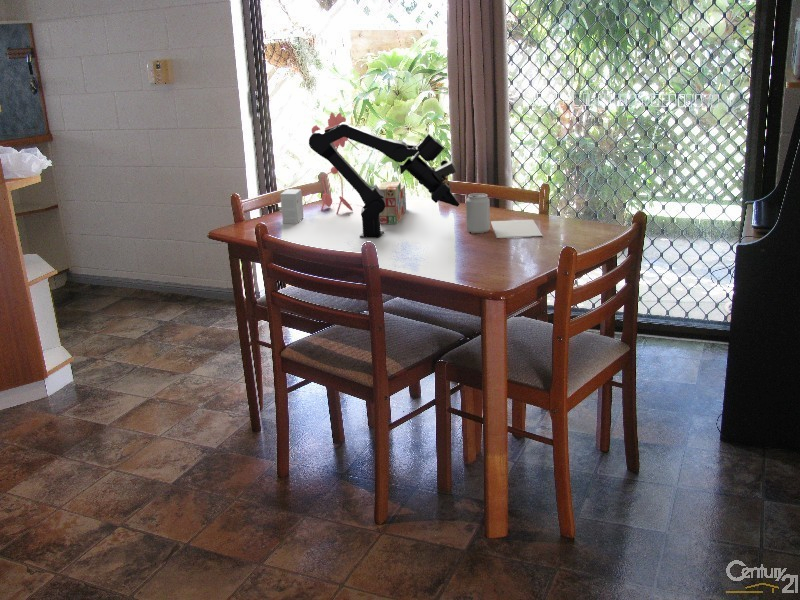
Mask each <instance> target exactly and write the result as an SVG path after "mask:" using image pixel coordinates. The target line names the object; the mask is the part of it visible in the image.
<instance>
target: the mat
mask: <svg viewBox="0 0 800 600" xmlns="http://www.w3.org/2000/svg"><path fill="white" fill-rule="evenodd" d="M490 226H491V227H492V229H493V232H494V234H495V237H496V239H497V238H507V239H515V238H514V237H530V236H542V237H543V233H541V230H540V229H539V226H538V225H537V224H536V222H535V221H534V219H518V220H517V219H516V220H515V219H514V220H512V219H511V220H490Z"/></svg>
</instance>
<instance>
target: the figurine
mask: <svg viewBox="0 0 800 600" xmlns="http://www.w3.org/2000/svg"><path fill="white" fill-rule="evenodd" d="M346 120H347V119H346V117H345V116H343V115H342V113H341V112H339V113H337V114H336V115H335V114H334V112H330V114H329V118H328V119H327V124H328V126H326V127H325V128H324V131H325V130H327V129H329V128H332V127H335V126H337V125H339V124H341V123H343V122H345V123H346ZM317 130H321V128H320V127H319V126H318V125H313V126H312V128H311V133H312V134H313V133H314V132H315V131H317ZM312 134H311V135H312ZM347 141H348V142H349V143H350V144H351V145H352V146H353V147H354V148H356V150H358V151H359V150H360V149H359V148H358V147H357V146H356V145H355V144H354V143H352V142H351V141H350V139H349V138H346V137H342V138H340V139H338V140H336V141H334V142H333V144H334V146H335V148H336V149H337V150H338V148H339V146H340V147H341V148H344V147H345V144H346V142H347ZM330 174H332V175H336V174H337V175H338V177H339V178H340V180H341V196H339V197H338V198H339V200H340V201H339V203H337V205H338V207H337V210H336V215H338V214H339V211H340V208H341V205H344V206H345V207H346V208H348V209H349V211H351V212H354V211H353V208H352V206H351V204H350V203H349V201H347V200H346V199H345V198H344V191H343V189H344V187H343V177H342V175H341V174H340V173H339V171H338V170H337V169H336V168H335V167H334V166H332V167H331V168H330V171H329V172H327V173H326V174H324V175H322V176H321V181H322V185H323V189H324V193H323V194H322V197H321V199H322V205H321V208H320V211H323V209H324V205H326V206H328V208H330V207H331V205H333V198H332V197H331V195H330V194H328V193H327V191H326V187H325V182H324V179H323V177H326V176H328V175H330ZM363 206H364V205H363ZM363 206H362V205H361V208H363ZM347 216H350V215H349V214H348V215H345V217H347Z"/></svg>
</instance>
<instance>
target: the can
mask: <svg viewBox="0 0 800 600" xmlns="http://www.w3.org/2000/svg"><path fill="white" fill-rule="evenodd" d="M488 195H489V194H487V193H481V192H476V193H475V192H474V193H469V194H468V195H467V198H466V200H465V208H466V209H465V212H466V217H465V218H466V231H468V232H469V233H470V232H471V233H470V234H474V233H481V234H485V233H484V232H486V233H488V232H489V230H490V229H491V211H490V210H491V209H490V208H491V205H490V204H491V202H490V201H491V199H490V198H489V197H488Z"/></svg>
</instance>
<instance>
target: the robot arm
mask: <svg viewBox="0 0 800 600" xmlns="http://www.w3.org/2000/svg"><path fill="white" fill-rule="evenodd" d="M342 137H346V138H348V140H351V141H354V142H355V143H356V142H357V143H359V144H362V145H363V146H367V147H369V148H372V149H374V150H377V151H379V152H380V153H382V154H383V155H385V156H386V157H388V158H389V159H391V160H393V161H394V162H395V163H400V164H399V168H400V169H399V171H400V172H399V173H400V175H403V174H404V173H405V172H406V171H407V173H408V174H410V175H411V176H412V177H413V178H414V179H416V180H417V181H418V183H419V184H420V185H422V186H423V187H424V188H425V189H426V190H428V193H430V195H431V196H430V197H431V200H432V201H433V202H434V203H435V204H437V203H439V202H442V203H445V204H448V205H451V206H455V207H459V206H460V203H459V201H458V200H457V198H456V197H455V195H454V193H453V192H452V191H451V186H450V182H449V181H448V182H447V183H446V182H444V181H447V180H448V176H450V175H453V174H455V173H456V172H457V171H456V170H457V169H456V168H455V165H454V164H453V162H452V160H449V161H447V160H446V159H443V160H440V166H438V167H436V168H435V167H433V166H430V165H429V164H427V162H434V161H435V160H436V158H437V157H438V156H439V155H440V154H441V153H442V152H443V151H444V150H445V147H444V146H443V145H442V144H441V143H440V142H439V141H438V140H437V139H435V137H433V136H431V135H430V134H429V133H427V134H426V135H425V137H424V138H423V139H422V140H421V142H420V143H419V144H418V145H415V144H414V145H413V144H407V143H406V142H404V141H403V140H398V139H392V138H385V137H381V136H380V135H377V134H374V133H372V132H369V131H366V130H363V129H361V128H359V127H356V126H354V125H351V124H349V123H348V122H346V121H345V122H343V123H341V124H339V125H337V126H335V127H332V128H329V129H327V130H325V129H324V130H321V129H320V130H317V131H315V132H314V133H313V134H311V135H310V137H309V139H308V145H309V147H310V149H312V151H314V152H315V153H316V154H318V155H319V156H320V157H322V158H324V159H325V160H327V161H328V162H329V163H330V164H331V165H332V167H335V168H336V169H337V170H338V173H339V174H340V176H341V177H342V178H344V179H345V180H346V182H348V183H349V185H350V186H351V187H352V188H353V189H354V190H355V191H356V192H357V193H358V195H359V196H360V199H361V200H362V202H363V204H364V205H363V207H361V211H360V216H361V221H362V223H361V224H362V233H361V234H360V235H359V238H366V239H367V238H370V239H379V238H380V237H381V236H383V234H385V231H381V224H380V216H379V214H380V213H381V212H383V210H384V209H385V197H384V192H382V191H380V190H379V186H378V185H377V184H376V183H375V184H374V185H373V186H372V185H370V184H369V183H367V181H365V179H364V178H363V177H362V176H361V175H360V174H359V173H358V172H357V171H356V170H355V169H354V167H352V165H351V164H350V163H349V162H348V161H347V160H346V159H345V158H344V157H343V155H342V154H340V152H339V151H338V148H337V149H336V147H335V146H334V144H333V142H334V141H336V140H338V139H340V138H342ZM411 157H412V158H411ZM425 161H426V162H425ZM403 162H404V163H403Z"/></svg>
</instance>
